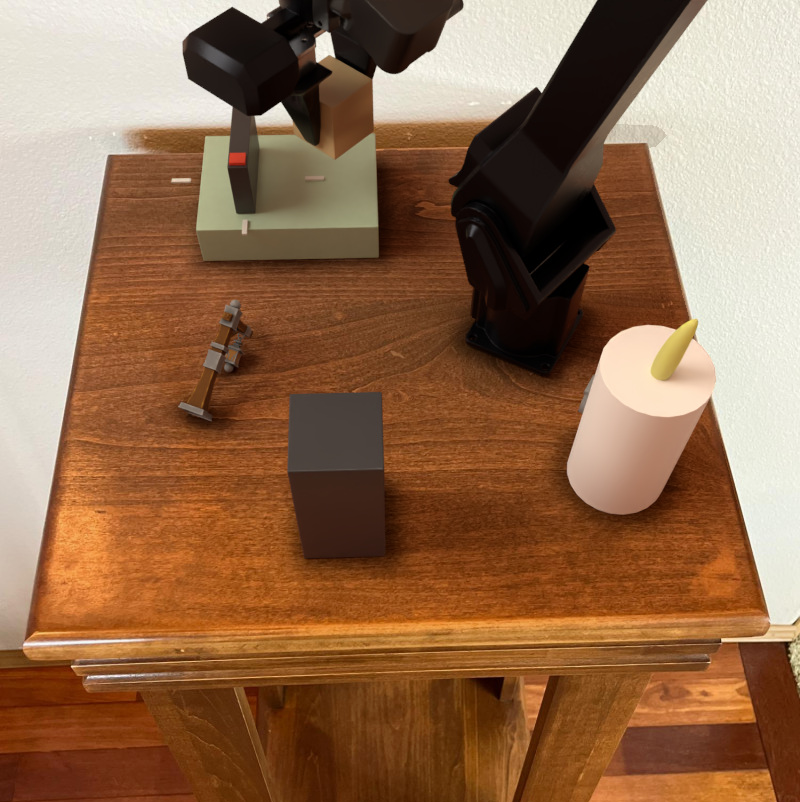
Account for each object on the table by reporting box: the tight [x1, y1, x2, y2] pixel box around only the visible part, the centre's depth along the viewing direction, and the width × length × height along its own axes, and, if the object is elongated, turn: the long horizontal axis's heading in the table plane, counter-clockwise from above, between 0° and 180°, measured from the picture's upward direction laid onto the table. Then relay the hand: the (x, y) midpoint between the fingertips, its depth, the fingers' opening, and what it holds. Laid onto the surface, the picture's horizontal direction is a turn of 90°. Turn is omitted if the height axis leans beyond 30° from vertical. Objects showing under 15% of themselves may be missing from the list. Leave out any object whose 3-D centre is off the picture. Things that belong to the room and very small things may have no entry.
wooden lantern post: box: [177, 299, 254, 422], centre depth 60 cm, size 2×8×4 cm, turn 158°
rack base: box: [170, 132, 380, 262], centre depth 68 cm, size 15×11×3 cm
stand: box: [286, 391, 386, 559], centre depth 52 cm, size 5×5×10 cm
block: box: [292, 54, 375, 160], centre depth 61 cm, size 4×4×4 cm
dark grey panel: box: [227, 106, 260, 214], centre depth 65 cm, size 7×1×4 cm, turn 2°
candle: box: [566, 318, 717, 516], centre depth 52 cm, size 6×6×15 cm
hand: (333, 127), depth 63 cm, fingers closed on block, 4 cm apart
